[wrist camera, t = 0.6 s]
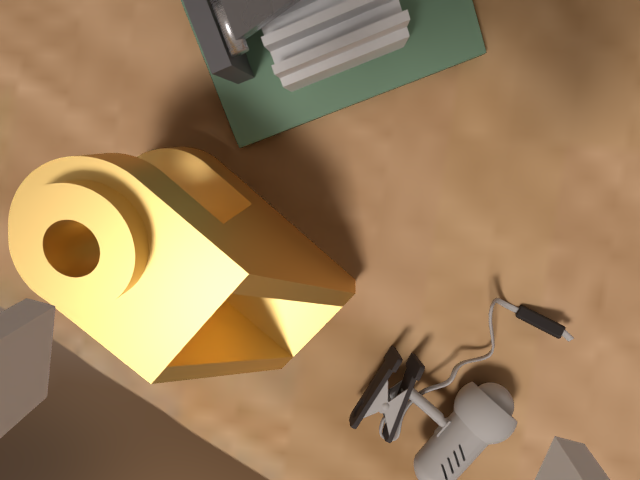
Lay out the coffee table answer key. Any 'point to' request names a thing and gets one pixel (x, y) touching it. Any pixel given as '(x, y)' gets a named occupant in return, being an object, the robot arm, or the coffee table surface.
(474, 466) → the coffee table surface
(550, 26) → the coffee table surface
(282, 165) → the coffee table surface
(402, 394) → the clip-on lamp
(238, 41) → the strap
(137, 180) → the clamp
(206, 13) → the heatsink base
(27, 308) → the robot arm
